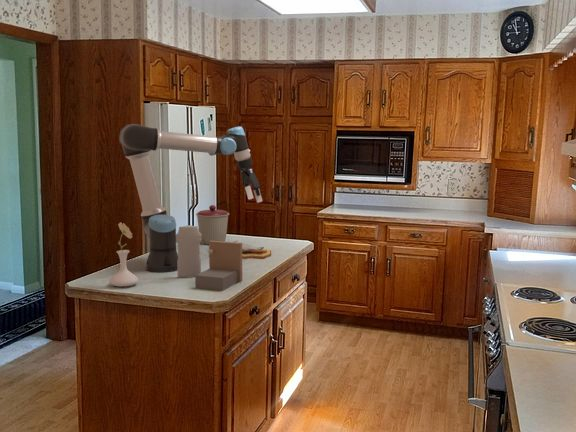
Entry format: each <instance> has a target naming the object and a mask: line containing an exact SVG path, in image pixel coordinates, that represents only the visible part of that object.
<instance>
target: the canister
mask: <svg viewBox="0 0 576 432" xmlns="http://www.w3.org/2000/svg"><path fill="white" fill-rule="evenodd" d="M216 208H217V207H216V205H214V204H211V205H210V206H209V208H208V209H203V210H200V211H198V212H196V213H195V216H196V218H197V225H198V230H199V232H200V233H201V242H200V243H201V244H203V245H206V246H209V241H224V242H226V239H227V238H226V237H227V232H228V222H229V221H228V220H229V215H230V213H229V212H228V211H226V210H224V209H216Z"/></svg>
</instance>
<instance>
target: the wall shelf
mask: <svg viewBox="0 0 576 432" xmlns="http://www.w3.org/2000/svg"><path fill="white" fill-rule="evenodd" d="M242 243H243V242H238V241H237V242H234V241H225V242H224V241H209V245H208V248H209V249H208V257H209V258H208V260H209V262H208V263H209V266H208V267H209V268H208V269H206V270H204V271H201V273H199V274H197V275H195V277H194V278H195V288H197V289H203V290H204V289H205V290H213V291H225V290H226V289H228V288H229V289H230V288H231V287H232V286H234V285H236V284H237V283H241V282H243V259H242Z"/></svg>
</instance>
